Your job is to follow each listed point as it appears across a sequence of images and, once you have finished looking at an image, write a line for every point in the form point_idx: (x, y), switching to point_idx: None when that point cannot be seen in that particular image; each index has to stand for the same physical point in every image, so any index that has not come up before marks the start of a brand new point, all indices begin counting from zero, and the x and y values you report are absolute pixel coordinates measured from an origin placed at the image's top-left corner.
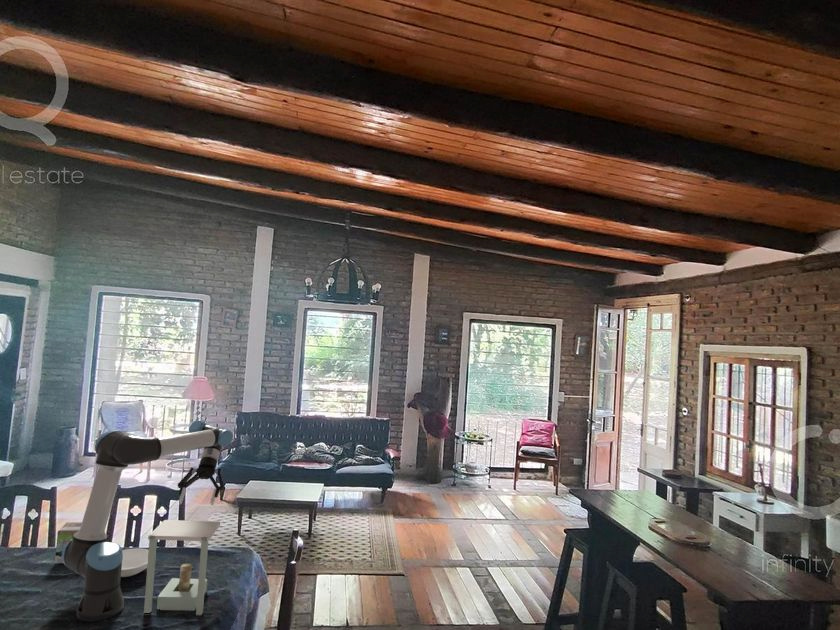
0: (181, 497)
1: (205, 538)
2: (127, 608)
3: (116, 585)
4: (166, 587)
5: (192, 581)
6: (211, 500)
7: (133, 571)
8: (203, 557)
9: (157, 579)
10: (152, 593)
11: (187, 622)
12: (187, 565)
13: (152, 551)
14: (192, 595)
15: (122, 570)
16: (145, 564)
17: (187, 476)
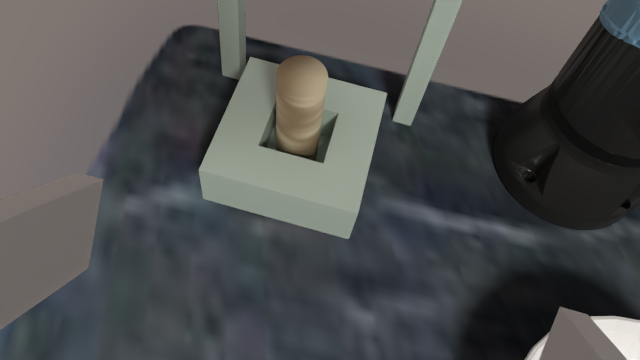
0: (588, 341)
1: None
2: (477, 156)
3: (556, 77)
4: (367, 144)
5: (264, 164)
6: (76, 182)
7: None
8: None
9: (429, 357)
10: (409, 72)
11: (270, 42)
12: (297, 76)
13: None
14: (261, 70)
15: (614, 317)
16: (526, 357)
17: None
